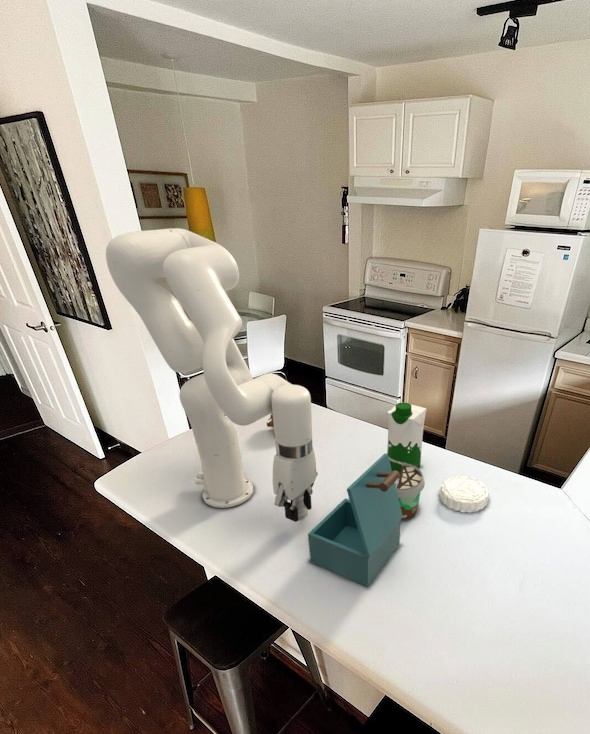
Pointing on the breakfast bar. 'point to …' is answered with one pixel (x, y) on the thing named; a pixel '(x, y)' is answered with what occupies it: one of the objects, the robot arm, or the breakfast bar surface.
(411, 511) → the food container
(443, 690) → the breakfast bar surface
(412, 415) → the milk carton
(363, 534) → the lid
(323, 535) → the teal hinged box
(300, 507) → the rook chess piece
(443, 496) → the mooncake
